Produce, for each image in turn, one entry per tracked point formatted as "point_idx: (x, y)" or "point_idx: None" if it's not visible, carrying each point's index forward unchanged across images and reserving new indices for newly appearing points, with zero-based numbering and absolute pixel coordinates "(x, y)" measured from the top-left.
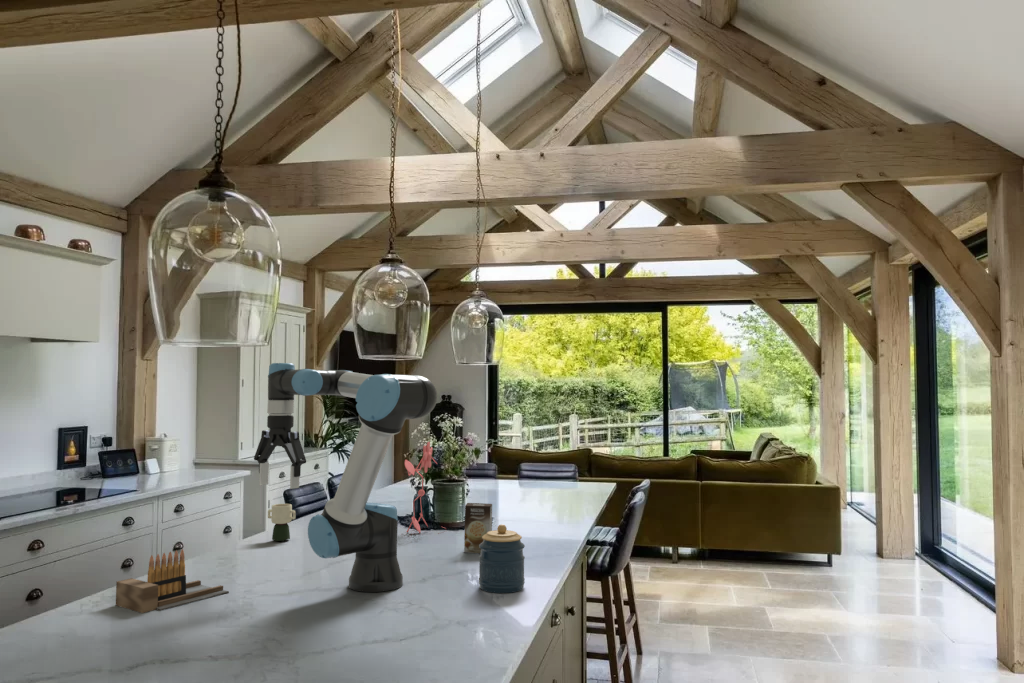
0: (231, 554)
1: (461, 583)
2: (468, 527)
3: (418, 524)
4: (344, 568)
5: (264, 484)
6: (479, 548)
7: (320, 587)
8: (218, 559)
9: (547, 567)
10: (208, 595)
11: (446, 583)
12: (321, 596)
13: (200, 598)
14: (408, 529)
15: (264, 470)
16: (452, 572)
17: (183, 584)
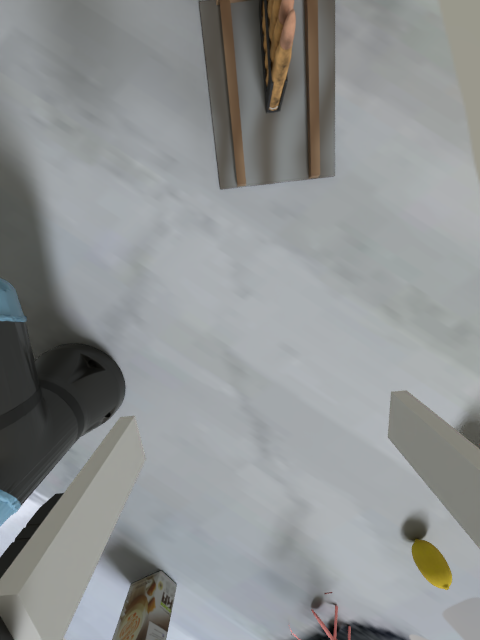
0: (472, 359)
1: None
2: (139, 629)
3: (325, 631)
4: (214, 418)
5: (391, 416)
6: (139, 587)
7: (134, 321)
8: (462, 322)
9: None
10: (222, 141)
11: None
12: (81, 288)
13: (213, 116)
14: (335, 612)
15: (470, 495)
16: None
17: (268, 91)
